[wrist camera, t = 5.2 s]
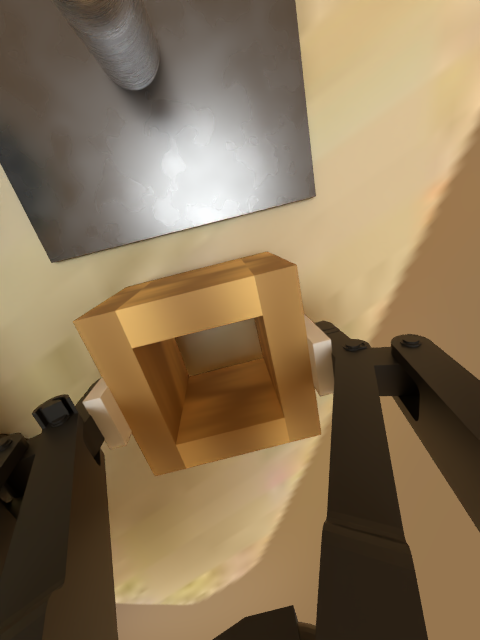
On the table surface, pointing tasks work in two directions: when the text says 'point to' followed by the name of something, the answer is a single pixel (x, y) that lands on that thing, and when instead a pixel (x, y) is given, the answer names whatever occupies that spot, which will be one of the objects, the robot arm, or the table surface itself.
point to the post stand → (149, 115)
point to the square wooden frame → (214, 386)
